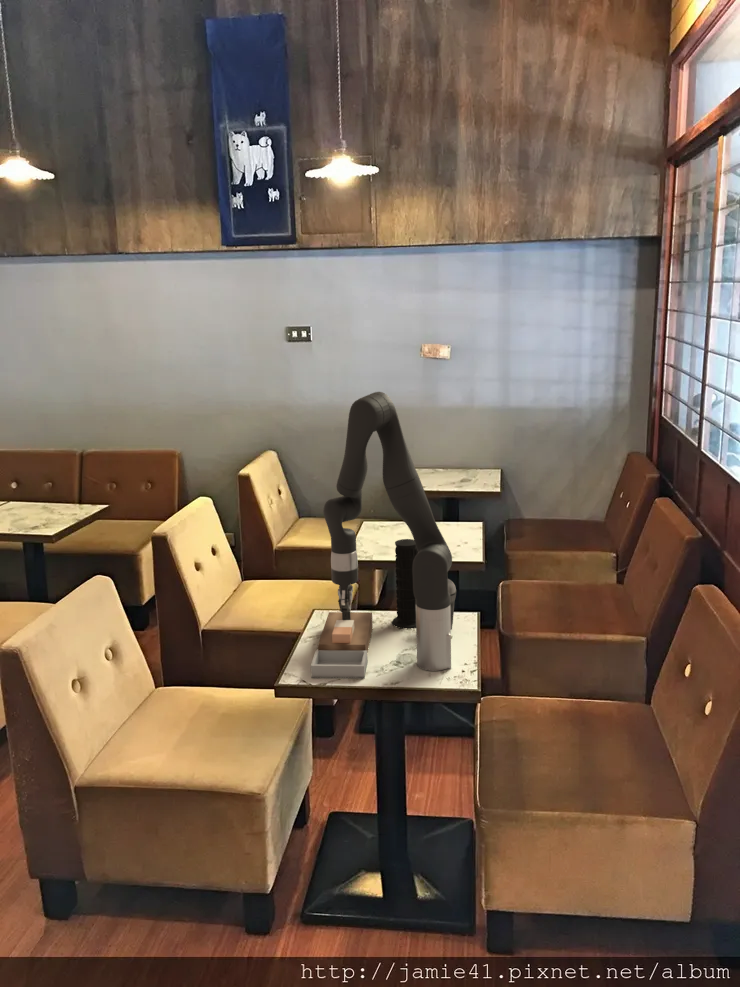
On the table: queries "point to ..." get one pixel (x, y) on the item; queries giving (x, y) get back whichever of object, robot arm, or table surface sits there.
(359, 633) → the walnut platform
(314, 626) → the table surface
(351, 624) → the cream tile
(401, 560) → the handle grip
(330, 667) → the box
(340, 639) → the terracotta tile
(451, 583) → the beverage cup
